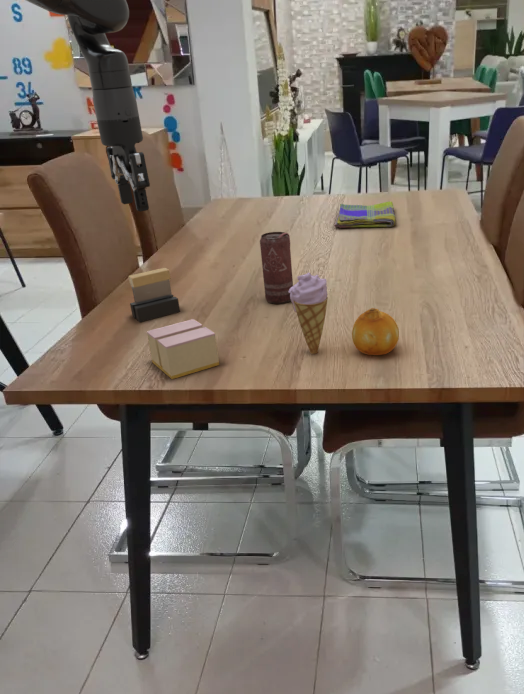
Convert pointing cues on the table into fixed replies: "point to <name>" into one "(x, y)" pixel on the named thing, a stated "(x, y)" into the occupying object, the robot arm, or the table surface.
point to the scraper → (151, 286)
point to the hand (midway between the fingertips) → (135, 206)
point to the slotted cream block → (183, 348)
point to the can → (276, 266)
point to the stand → (155, 309)
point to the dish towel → (366, 215)
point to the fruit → (375, 332)
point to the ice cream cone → (310, 307)
